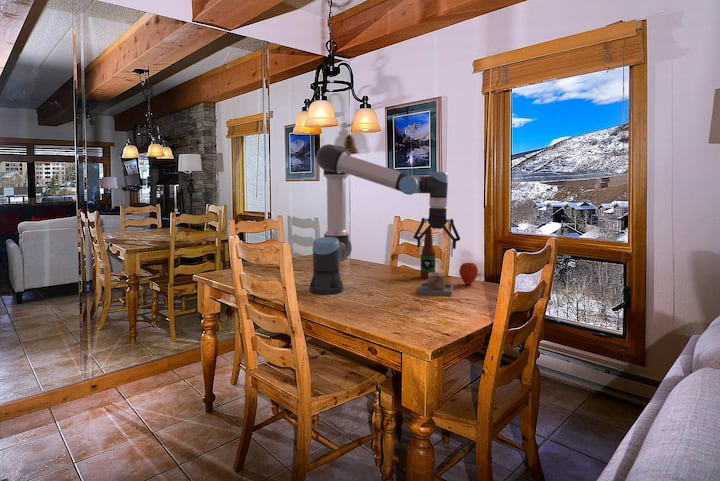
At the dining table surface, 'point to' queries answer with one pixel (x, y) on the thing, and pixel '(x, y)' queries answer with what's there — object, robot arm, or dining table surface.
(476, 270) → the apple
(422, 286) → the slate tray
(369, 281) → the dining table surface
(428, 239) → the bottle
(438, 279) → the walnut cube
